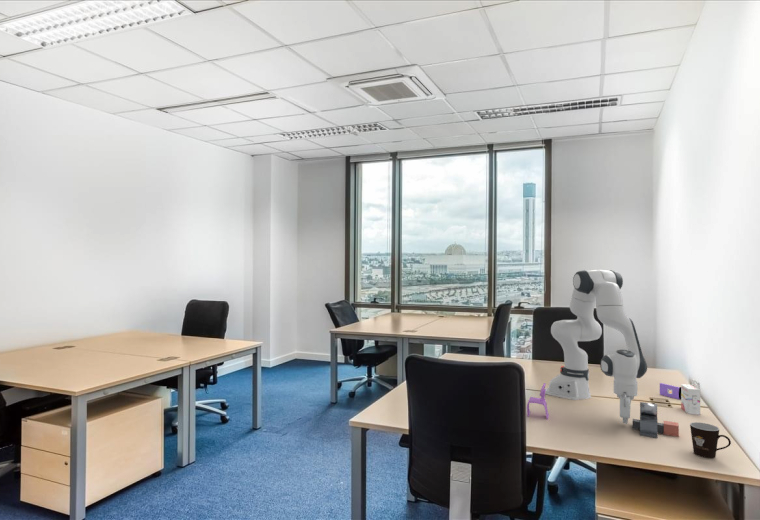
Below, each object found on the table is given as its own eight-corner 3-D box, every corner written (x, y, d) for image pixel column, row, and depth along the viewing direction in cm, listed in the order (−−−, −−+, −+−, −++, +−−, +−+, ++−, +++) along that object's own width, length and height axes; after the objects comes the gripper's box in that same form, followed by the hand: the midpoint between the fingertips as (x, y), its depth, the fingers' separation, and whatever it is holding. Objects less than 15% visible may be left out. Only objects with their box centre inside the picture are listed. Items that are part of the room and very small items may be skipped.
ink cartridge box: (680, 408, 216) (680, 377, 216) (692, 409, 215) (692, 378, 215) (688, 414, 208) (688, 382, 208) (701, 415, 207) (701, 382, 207)
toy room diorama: (681, 402, 228) (681, 388, 228) (656, 395, 238) (656, 382, 238) (694, 398, 233) (694, 385, 233) (670, 393, 244) (670, 380, 244)
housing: (639, 435, 182) (640, 407, 182) (640, 422, 197) (640, 397, 197) (657, 438, 179) (657, 410, 179) (656, 425, 194) (656, 399, 194)
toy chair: (529, 412, 210) (529, 379, 210) (549, 415, 206) (549, 381, 206) (526, 417, 202) (526, 383, 202) (547, 420, 198) (547, 386, 198)
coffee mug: (684, 449, 168) (684, 422, 168) (706, 449, 169) (706, 422, 169) (709, 463, 156) (709, 434, 156) (733, 462, 157) (733, 433, 157)
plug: (632, 429, 189) (632, 418, 189) (632, 425, 193) (632, 415, 193) (678, 436, 181) (678, 426, 181) (678, 433, 185) (678, 422, 185)
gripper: (633, 397, 182) (633, 431, 182) (634, 385, 200) (633, 416, 200) (615, 394, 185) (615, 428, 185) (617, 383, 203) (617, 414, 203)
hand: (625, 422), depth 192 cm, fingers closed
